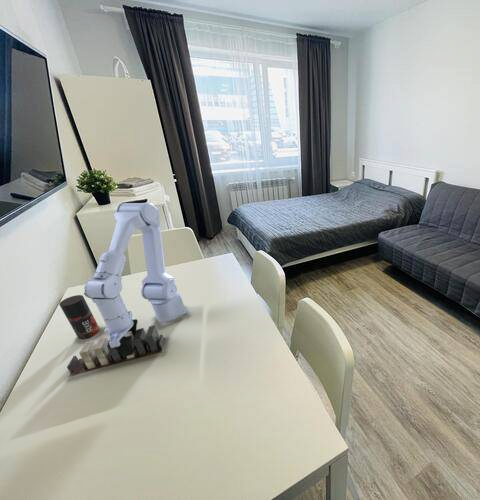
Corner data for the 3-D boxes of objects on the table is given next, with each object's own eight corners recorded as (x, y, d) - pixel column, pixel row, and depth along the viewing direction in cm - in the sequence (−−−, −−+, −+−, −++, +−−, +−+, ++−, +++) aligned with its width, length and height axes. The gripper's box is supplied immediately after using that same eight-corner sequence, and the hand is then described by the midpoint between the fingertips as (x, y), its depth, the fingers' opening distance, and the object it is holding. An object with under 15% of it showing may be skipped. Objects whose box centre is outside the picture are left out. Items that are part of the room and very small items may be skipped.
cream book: (138, 346, 88) (131, 330, 85) (134, 357, 84) (126, 341, 81) (131, 347, 87) (124, 332, 85) (127, 359, 83) (119, 343, 80)
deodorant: (88, 342, 91) (69, 306, 85) (74, 340, 92) (54, 304, 86) (105, 330, 96) (87, 296, 90) (91, 328, 98) (73, 294, 91)
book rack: (166, 339, 92) (159, 322, 88) (162, 354, 86) (155, 336, 83) (80, 361, 84) (69, 343, 81) (70, 379, 78) (58, 360, 75)
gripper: (107, 303, 84) (122, 336, 90) (88, 333, 72) (108, 370, 77) (133, 298, 86) (147, 330, 92) (120, 326, 74) (136, 362, 80)
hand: (131, 348), depth 85 cm, fingers closed on cream book, 5 cm apart
